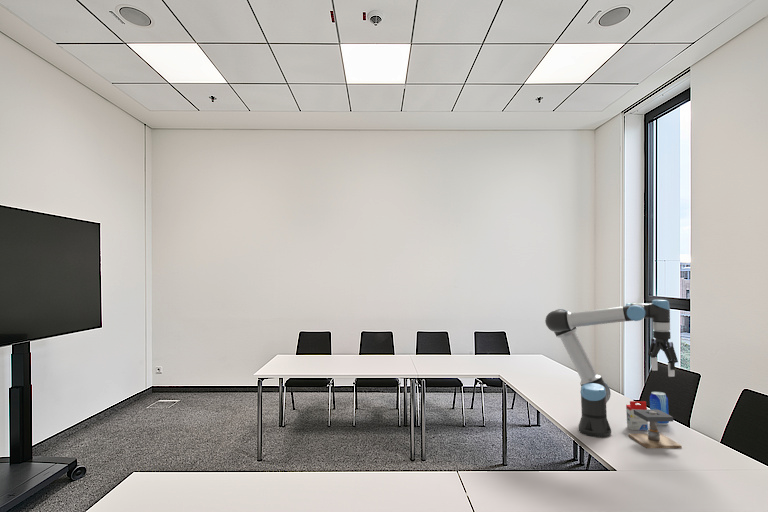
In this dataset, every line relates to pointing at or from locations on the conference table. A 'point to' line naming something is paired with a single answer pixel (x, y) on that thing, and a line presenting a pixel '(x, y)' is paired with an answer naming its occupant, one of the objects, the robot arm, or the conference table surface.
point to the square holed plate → (653, 416)
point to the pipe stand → (654, 438)
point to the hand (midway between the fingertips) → (662, 373)
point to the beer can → (659, 404)
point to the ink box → (634, 420)
